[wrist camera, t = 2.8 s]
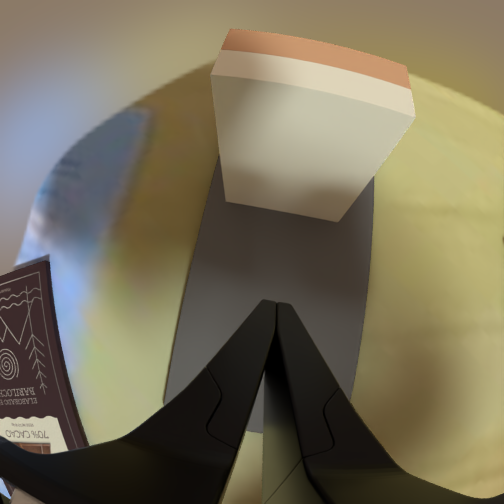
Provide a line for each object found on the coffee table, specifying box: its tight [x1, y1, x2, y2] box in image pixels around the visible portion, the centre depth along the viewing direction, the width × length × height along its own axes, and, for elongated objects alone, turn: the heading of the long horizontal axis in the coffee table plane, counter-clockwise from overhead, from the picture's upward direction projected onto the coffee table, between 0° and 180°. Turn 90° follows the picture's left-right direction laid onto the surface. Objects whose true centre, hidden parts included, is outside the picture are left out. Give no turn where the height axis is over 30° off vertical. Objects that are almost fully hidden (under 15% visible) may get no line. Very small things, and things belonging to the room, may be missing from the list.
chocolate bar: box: [0, 261, 89, 497], centre depth 13 cm, size 9×1×18 cm
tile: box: [210, 29, 416, 222], centre depth 12 cm, size 2×6×9 cm, turn 80°
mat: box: [164, 153, 374, 433], centre depth 16 cm, size 19×9×1 cm, turn 170°
